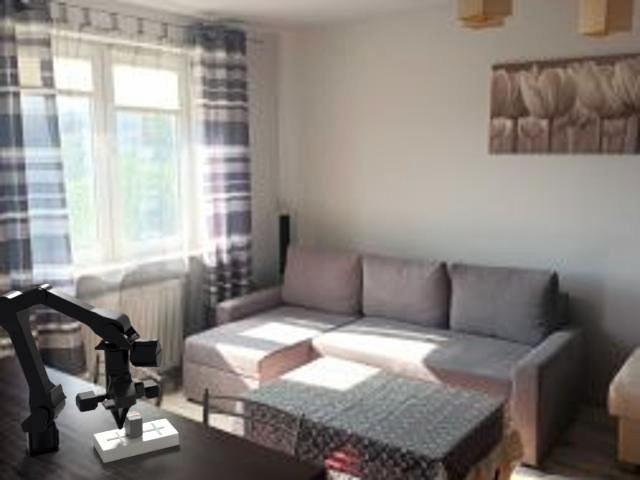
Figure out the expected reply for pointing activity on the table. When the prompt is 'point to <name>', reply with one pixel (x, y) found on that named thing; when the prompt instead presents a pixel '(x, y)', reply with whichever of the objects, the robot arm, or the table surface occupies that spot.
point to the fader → (133, 424)
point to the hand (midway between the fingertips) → (120, 429)
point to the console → (135, 441)
